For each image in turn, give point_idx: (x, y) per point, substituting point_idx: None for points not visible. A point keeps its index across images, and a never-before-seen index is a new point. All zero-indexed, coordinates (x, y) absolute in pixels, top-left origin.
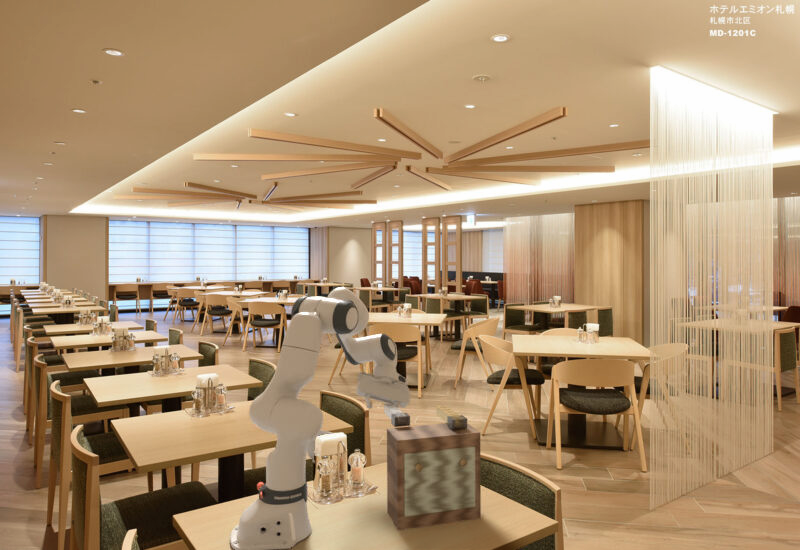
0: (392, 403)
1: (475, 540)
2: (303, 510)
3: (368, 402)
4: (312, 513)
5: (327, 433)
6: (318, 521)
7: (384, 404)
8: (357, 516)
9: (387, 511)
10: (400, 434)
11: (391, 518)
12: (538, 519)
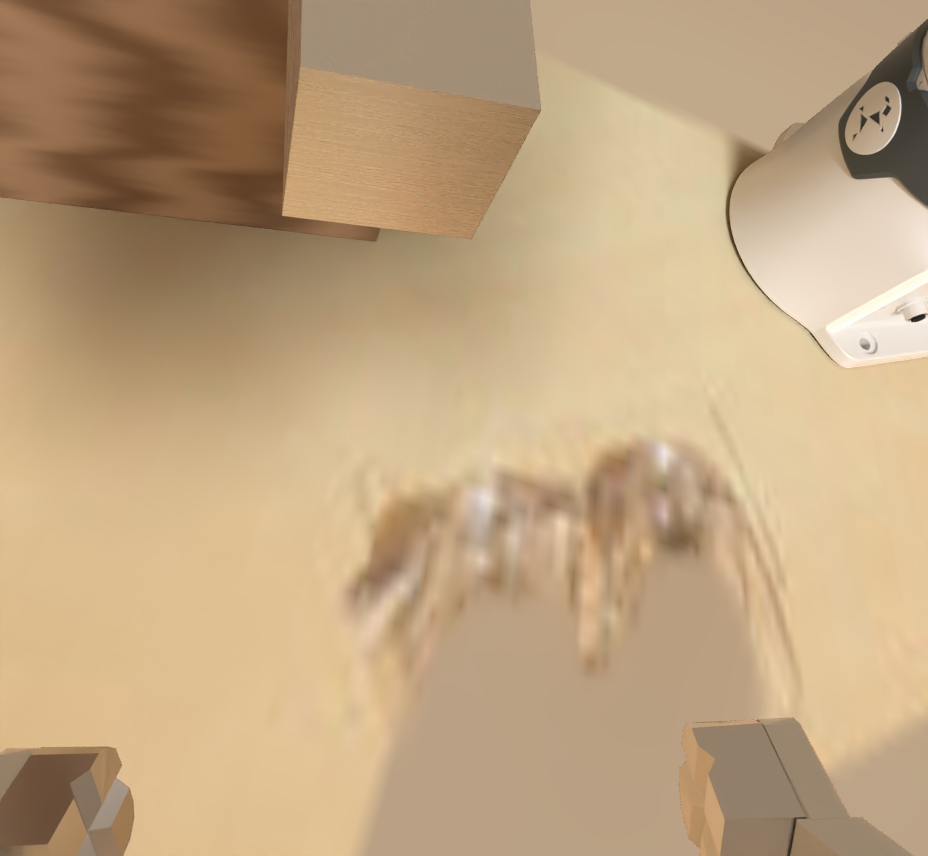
0: (317, 45)
1: None
2: (828, 117)
3: (837, 821)
4: (734, 365)
5: None
6: (704, 281)
7: (535, 99)
8: (532, 258)
9: (376, 237)
10: None
11: None
12: None
